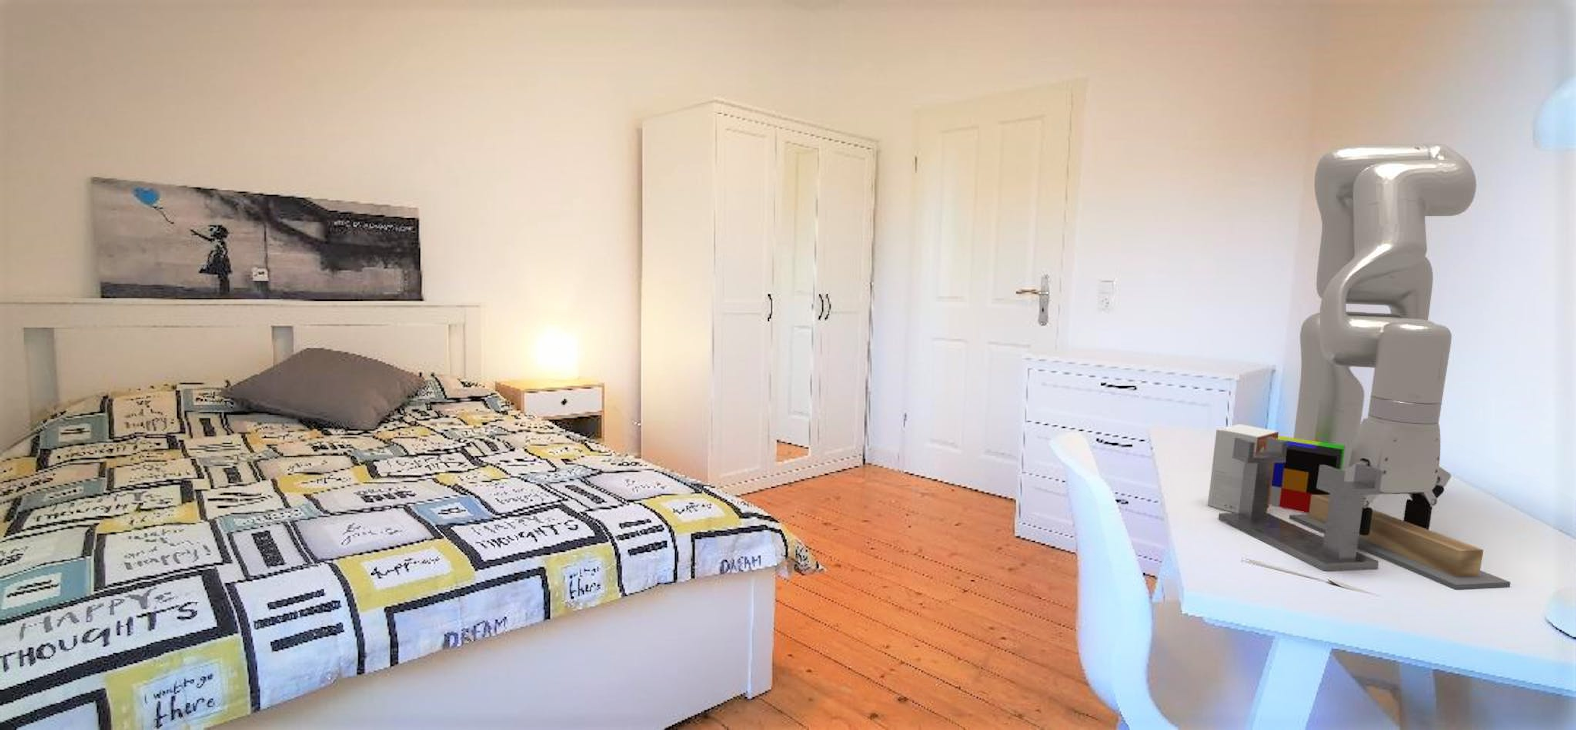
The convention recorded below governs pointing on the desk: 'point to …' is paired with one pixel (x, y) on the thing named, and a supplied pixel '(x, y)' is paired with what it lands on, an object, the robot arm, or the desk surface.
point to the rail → (1413, 541)
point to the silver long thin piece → (1308, 576)
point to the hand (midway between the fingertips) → (1386, 530)
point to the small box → (1233, 465)
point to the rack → (1294, 540)
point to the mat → (1414, 562)
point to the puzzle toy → (1302, 472)
